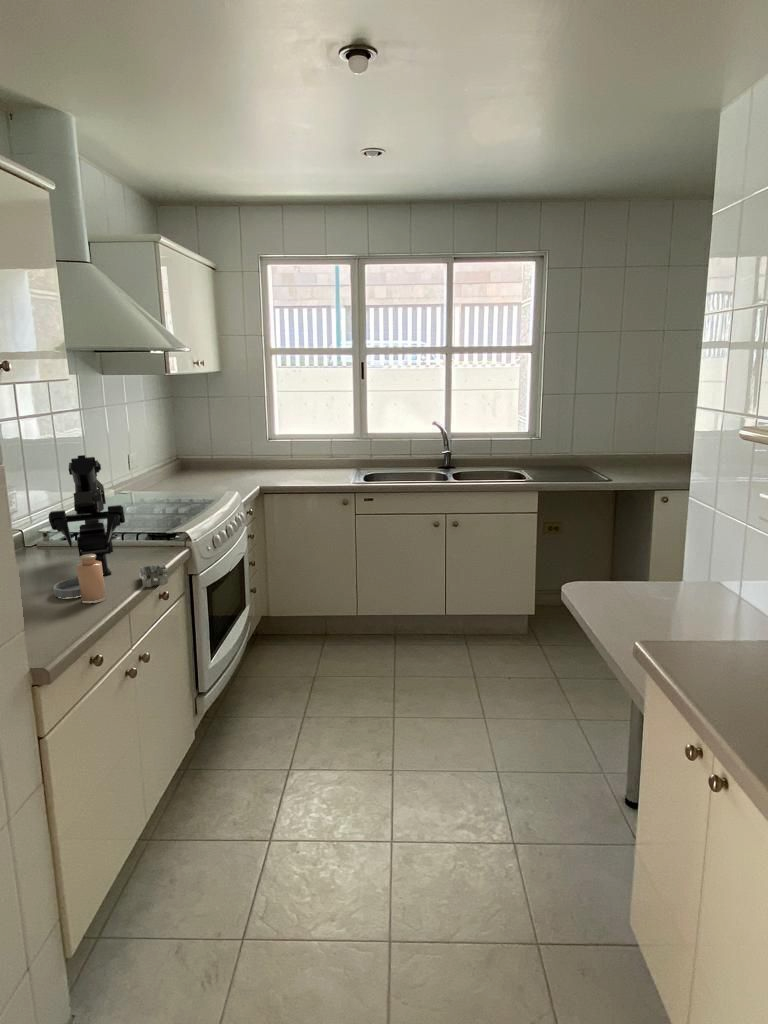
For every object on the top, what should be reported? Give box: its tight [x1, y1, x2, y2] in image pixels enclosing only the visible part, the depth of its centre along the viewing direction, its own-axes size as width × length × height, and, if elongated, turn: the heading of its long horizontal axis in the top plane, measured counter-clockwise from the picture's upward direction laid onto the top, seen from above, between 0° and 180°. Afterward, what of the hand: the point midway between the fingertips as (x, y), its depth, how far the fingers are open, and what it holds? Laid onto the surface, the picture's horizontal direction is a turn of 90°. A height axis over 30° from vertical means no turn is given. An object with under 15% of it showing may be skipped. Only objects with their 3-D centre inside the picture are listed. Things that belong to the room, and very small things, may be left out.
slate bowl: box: [52, 576, 81, 598], centre depth 183 cm, size 10×10×2 cm
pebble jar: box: [76, 554, 107, 602], centre depth 176 cm, size 6×6×12 cm
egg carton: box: [139, 564, 169, 588], centre depth 191 cm, size 11×8×4 cm
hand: (89, 544), depth 181 cm, fingers open, 9 cm apart
